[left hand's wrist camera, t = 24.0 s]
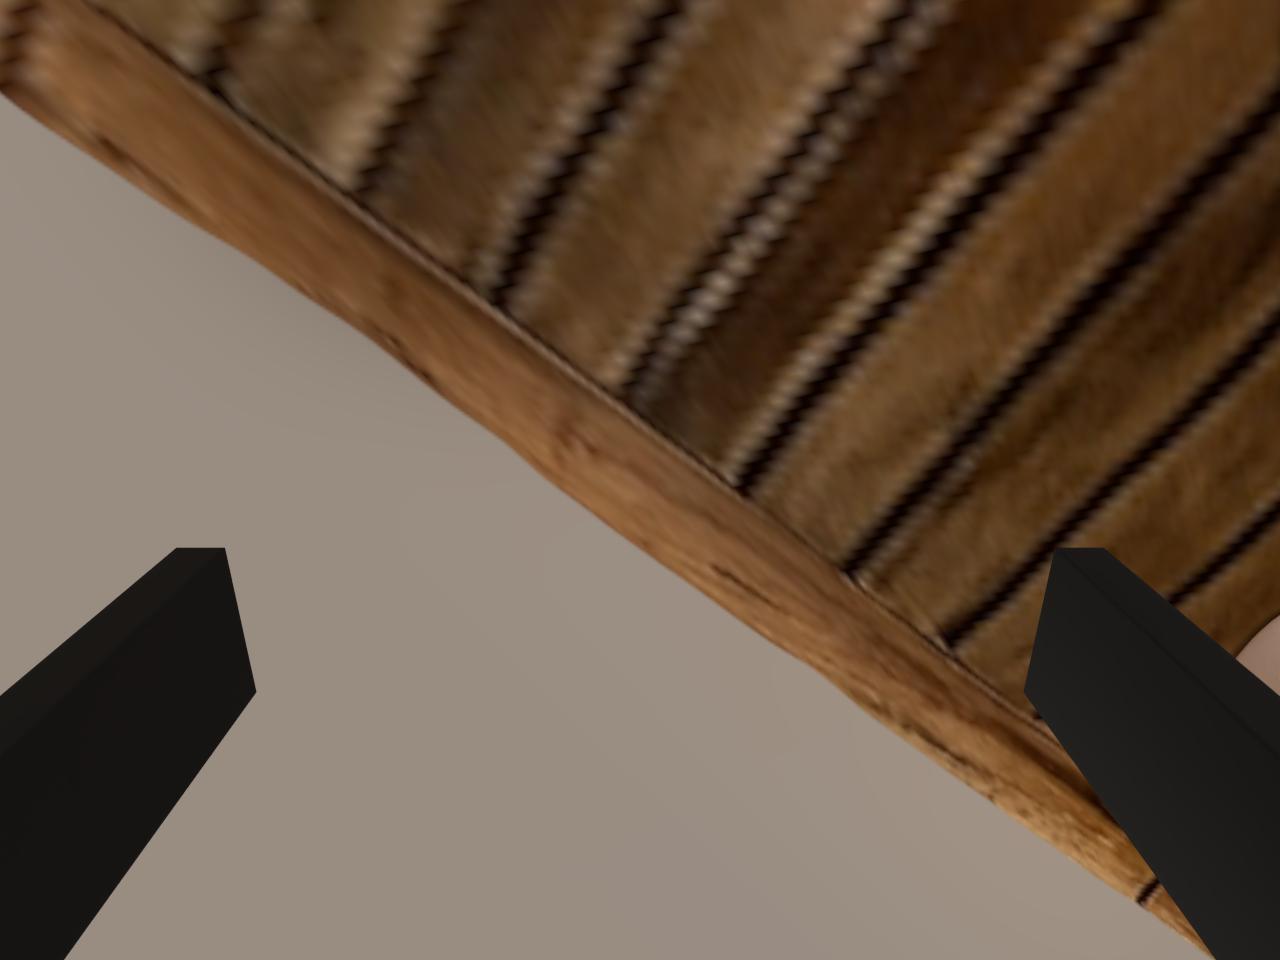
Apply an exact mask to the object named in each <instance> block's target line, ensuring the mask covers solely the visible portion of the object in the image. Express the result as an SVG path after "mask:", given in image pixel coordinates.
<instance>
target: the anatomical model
mask: <svg viewBox="0 0 1280 960" xmlns="http://www.w3.org/2000/svg"><path fill="white" fill-rule="evenodd" d="M1236 659H1237V660H1238V661H1239V662H1240V663H1241V664H1242V665H1244V666H1245V667H1246V668H1247V669H1248V670H1250V671H1251V672H1252V673H1253V674H1254V675H1256V676H1257V677H1258V678H1259V679H1260V680H1262V681H1263V682H1264V683H1265V684H1266V685H1267V686H1269V687H1270V688H1271V689H1272V690H1273V691H1275V692H1276V693H1277V694H1278V695H1279V696H1280V615H1279V616H1277V617H1276V618H1275V619H1273V620H1272V621H1271V622H1270V623H1268V624H1267V625H1266V626H1265V627H1264V628H1263V629H1262V630H1260V631H1259V632H1258V633H1257V634H1256V636H1255V637H1254V638H1253V639H1252V640H1251V641H1250V642H1249V643H1248V644H1247V645H1246V646H1245V648H1244V649H1243V650H1242V651H1241V652H1240V653H1239V655H1238V656H1237V657H1236Z"/></svg>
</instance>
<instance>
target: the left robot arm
mask: <svg viewBox="0 0 1280 960" xmlns="http://www.w3.org/2000/svg"><path fill="white" fill-rule="evenodd" d="M255 693H256V688H255V684H254V679H253V674H252V670H251V665H250V661H249V656H248V651H247V647H246V642H245V638H244V633H243V628H242V624H241V619H240V615H239V610H238V605H237V601H236V596H235V592H234V587H233V583H232V578H231V573H230V569H229V564H228V560H227V555H226V550H225V548H176V549H174V550H173V551H172V552H171V553H170V554H168V555H167V556H166V557H165V558H164V559H163V560H161V561H160V562H159V563H158V564H157V565H155V566H154V567H153V568H152V569H151V570H149V571H148V572H147V573H146V574H145V575H143V576H142V577H141V578H140V579H139V580H138V581H136V582H135V583H134V584H133V585H132V586H130V587H129V588H128V589H127V590H126V591H125V592H123V593H122V594H121V595H120V596H118V597H117V598H116V599H115V600H114V601H113V602H111V603H110V604H109V605H108V606H107V607H105V608H104V609H103V610H102V611H101V612H99V613H98V614H97V615H96V616H95V617H94V618H92V619H91V620H90V621H89V622H88V623H86V624H85V625H84V626H83V627H82V628H80V629H79V630H78V631H77V632H76V633H75V634H73V635H72V636H71V637H70V638H69V639H67V640H66V641H65V642H64V643H63V644H61V645H60V646H59V647H58V648H57V649H55V650H54V651H53V652H52V653H51V654H49V655H48V656H47V657H46V658H45V659H43V660H42V661H41V662H40V663H39V664H38V665H36V666H35V667H34V668H33V669H32V670H30V671H29V672H28V673H27V674H26V675H24V676H23V677H22V678H21V679H20V680H18V681H17V682H16V683H15V684H14V685H13V686H11V687H10V688H9V689H8V690H7V691H5V692H4V693H3V694H2V695H1V696H0V960H64V959H65V958H66V956H67V955H68V953H69V952H70V951H71V949H72V948H73V947H74V945H75V944H76V942H77V941H78V940H79V938H80V937H81V935H82V934H83V932H84V931H85V930H86V928H87V927H88V926H89V924H90V923H91V921H92V920H93V919H94V917H95V916H96V915H97V913H98V912H99V910H100V909H101V908H102V906H103V905H104V903H105V902H106V901H107V899H108V898H109V896H110V895H111V894H112V892H113V891H114V889H115V888H116V887H117V885H118V884H119V883H120V881H121V880H122V878H123V877H124V876H125V874H126V873H127V871H128V870H129V869H130V867H131V866H132V864H133V863H134V862H135V860H136V859H137V857H138V856H139V855H140V853H141V852H142V851H143V849H144V848H145V846H146V845H147V843H148V842H149V841H150V839H151V838H152V837H153V835H154V834H155V832H156V831H157V829H158V828H159V827H160V825H161V824H162V823H163V821H164V820H165V819H166V817H167V816H168V814H169V813H170V812H171V810H172V809H173V807H174V806H175V805H176V803H177V802H178V800H179V799H180V798H181V796H182V795H183V793H184V792H185V791H186V789H187V788H188V787H189V785H190V784H191V782H192V781H193V779H194V778H195V777H196V775H197V774H198V773H199V771H200V770H201V768H202V767H203V766H204V764H205V763H206V761H207V760H208V759H209V757H210V756H211V755H212V753H213V752H214V750H215V749H216V748H217V746H218V745H219V743H220V742H221V741H222V739H223V738H224V736H225V735H226V734H227V732H228V731H229V729H230V728H231V727H232V725H233V724H234V723H235V721H236V720H237V718H238V717H239V716H240V714H241V713H242V711H243V710H244V709H245V707H246V706H247V704H248V703H249V702H250V700H251V699H252V697H253V696H254V695H255ZM1024 693H1025V695H1026V696H1027V697H1028V699H1029V700H1030V702H1031V703H1032V704H1033V706H1034V707H1035V709H1036V710H1037V711H1038V713H1039V714H1040V716H1041V717H1042V718H1043V720H1044V721H1045V723H1046V724H1047V725H1048V727H1049V728H1050V729H1051V731H1052V732H1053V734H1054V735H1055V736H1056V738H1057V739H1058V741H1059V742H1060V743H1061V745H1062V746H1063V748H1064V749H1065V750H1066V752H1067V753H1068V755H1069V756H1070V757H1071V759H1072V760H1073V761H1074V763H1075V764H1076V766H1077V767H1078V768H1079V770H1080V771H1081V773H1082V774H1083V775H1084V777H1085V778H1086V780H1087V781H1088V782H1089V784H1090V785H1091V787H1092V788H1093V789H1094V791H1095V792H1096V793H1097V795H1098V796H1099V798H1100V799H1101V800H1102V802H1103V803H1104V805H1105V806H1106V807H1107V809H1108V810H1109V812H1110V813H1111V814H1112V816H1113V817H1114V819H1115V820H1116V821H1117V823H1118V824H1119V825H1120V827H1121V828H1122V830H1123V831H1124V832H1125V834H1126V835H1127V837H1128V838H1129V839H1130V841H1131V842H1132V844H1133V845H1134V846H1135V848H1136V849H1137V851H1138V852H1139V853H1140V855H1141V856H1142V857H1143V859H1144V860H1145V862H1146V863H1147V864H1148V866H1149V867H1150V869H1151V870H1152V871H1153V873H1154V874H1155V876H1156V877H1157V878H1158V880H1159V881H1160V883H1161V884H1162V885H1163V887H1164V888H1165V889H1166V891H1167V892H1168V894H1169V895H1170V896H1171V898H1172V899H1173V901H1174V902H1175V903H1176V905H1177V906H1178V908H1179V909H1180V910H1181V912H1182V913H1183V915H1184V916H1185V917H1186V919H1187V920H1188V921H1189V923H1190V924H1191V926H1192V927H1193V928H1194V930H1195V931H1196V933H1197V934H1198V935H1199V937H1200V938H1201V940H1202V941H1203V942H1204V944H1205V945H1206V947H1207V948H1208V949H1209V951H1210V952H1211V953H1212V955H1213V956H1214V958H1215V959H1216V960H1280V696H1279V695H1278V694H1277V693H1276V692H1275V691H1273V690H1272V689H1271V688H1270V687H1269V686H1267V685H1266V684H1265V683H1264V682H1263V681H1262V680H1260V679H1259V678H1258V677H1257V676H1256V675H1254V674H1253V673H1252V672H1251V671H1250V670H1248V669H1247V668H1246V667H1245V666H1244V665H1242V664H1241V663H1240V662H1239V661H1238V660H1237V659H1235V658H1234V657H1233V656H1232V655H1231V654H1229V653H1228V652H1227V651H1226V650H1225V649H1223V648H1222V647H1221V646H1220V645H1219V644H1217V643H1216V642H1215V641H1214V640H1213V639H1212V638H1210V637H1209V636H1208V635H1207V634H1206V633H1204V632H1203V631H1202V630H1201V629H1200V628H1198V627H1197V626H1196V625H1195V624H1194V623H1192V622H1191V621H1190V620H1189V619H1188V618H1187V617H1185V616H1184V615H1183V614H1182V613H1181V612H1179V611H1178V610H1177V609H1176V608H1175V607H1173V606H1172V605H1171V604H1170V603H1169V602H1167V601H1166V600H1165V599H1164V598H1163V597H1162V596H1160V595H1159V594H1158V593H1157V592H1156V591H1154V590H1153V589H1152V588H1151V587H1150V586H1148V585H1147V584H1146V583H1145V582H1144V581H1142V580H1141V579H1140V578H1139V577H1138V576H1137V575H1135V574H1134V573H1133V572H1132V571H1131V570H1129V569H1128V568H1127V567H1126V566H1125V565H1123V564H1122V563H1121V562H1120V561H1119V560H1117V559H1116V558H1115V557H1114V556H1113V555H1112V554H1110V553H1109V552H1108V551H1107V550H1106V549H1104V548H1055V550H1054V555H1053V560H1052V564H1051V569H1050V573H1049V578H1048V583H1047V587H1046V592H1045V596H1044V601H1043V605H1042V610H1041V615H1040V619H1039V624H1038V628H1037V633H1036V638H1035V642H1034V647H1033V651H1032V656H1031V660H1030V665H1029V670H1028V674H1027V679H1026V683H1025V688H1024Z"/></svg>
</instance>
